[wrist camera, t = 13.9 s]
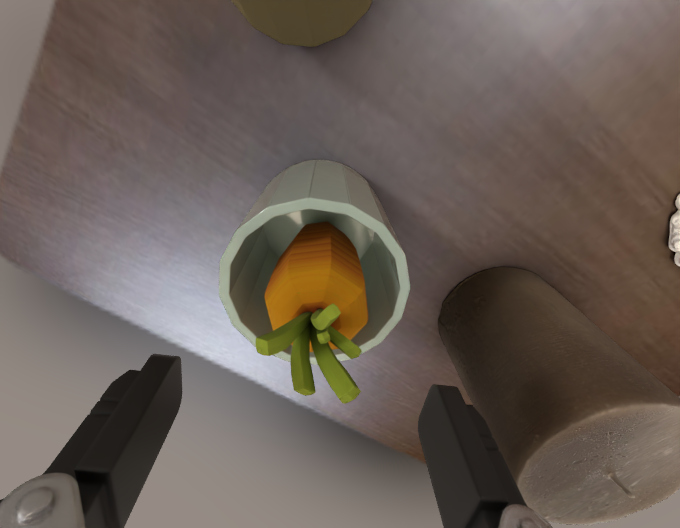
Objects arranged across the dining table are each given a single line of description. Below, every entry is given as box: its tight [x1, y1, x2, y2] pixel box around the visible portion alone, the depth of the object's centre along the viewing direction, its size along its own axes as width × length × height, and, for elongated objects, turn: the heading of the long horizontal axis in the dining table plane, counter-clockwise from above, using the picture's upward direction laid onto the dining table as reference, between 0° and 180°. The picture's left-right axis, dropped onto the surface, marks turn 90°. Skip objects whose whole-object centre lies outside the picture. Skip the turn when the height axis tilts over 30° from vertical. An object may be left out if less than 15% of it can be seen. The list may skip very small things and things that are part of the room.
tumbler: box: [219, 160, 410, 365], centre depth 21 cm, size 9×9×10 cm
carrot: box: [255, 221, 368, 403], centre depth 18 cm, size 5×5×15 cm
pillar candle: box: [438, 267, 680, 525], centre depth 23 cm, size 10×10×15 cm
